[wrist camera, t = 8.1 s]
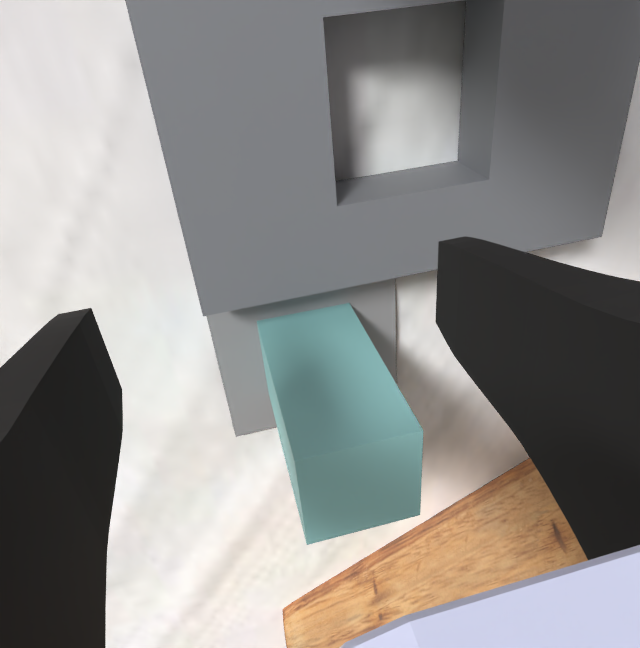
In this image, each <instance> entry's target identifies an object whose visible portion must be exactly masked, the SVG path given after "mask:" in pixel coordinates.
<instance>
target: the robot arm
mask: <svg viewBox="0 0 640 648" xmlns="http://www.w3.org/2000/svg"><path fill="white" fill-rule="evenodd" d="M436 323H437V325H438V327H439V329H440V331H441V333H442V335H443V336H444V338H445V340H446V342H447V344H448V346H449V347H450V349H451V351H452V352H453V354H454V356H455V357H456V359H457V360H458V361H459V363H460V364H461V365H462V367H463V368H464V369H465V371H466V372H467V373H468V375H469V376H470V377H471V378H472V380H473V381H474V382H475V384H476V385H477V386H478V387H479V389H480V390H481V391H482V393H483V394H484V395H485V396H486V398H487V399H488V400H489V402H490V403H491V404H492V405H493V407H494V408H495V409H496V410H497V412H498V413H499V414H500V416H501V417H502V418H503V419H504V421H505V422H506V423H507V425H508V426H509V427H510V428H511V430H512V431H513V433H514V434H515V435H516V437H517V438H518V440H519V441H520V442H521V444H522V445H523V447H524V449H525V450H526V452H527V453H528V455H529V457H530V458H531V460H532V462H533V463H534V465H535V467H536V468H537V470H538V471H539V473H540V475H541V476H542V478H543V480H544V481H545V483H546V485H547V486H548V488H549V490H550V492H551V493H552V495H553V497H554V499H555V500H556V502H557V504H558V506H559V507H560V509H561V511H562V513H563V514H564V516H565V518H566V520H567V521H568V523H569V525H570V527H571V529H572V531H573V533H574V534H575V536H576V538H577V540H578V542H579V544H580V546H581V548H582V550H583V551H584V553H585V555H586V557H587V559H588V561H584V562H581V563H578V564H574V565H571V566H568V567H565V568H561V569H558V570H555V571H551V572H548V573H545V574H541V575H538V576H535V577H531V578H528V579H525V580H521V581H518V582H515V583H511V584H508V585H505V586H501V587H498V588H495V589H491V590H488V591H485V592H481V593H478V594H475V595H471V596H468V597H465V598H461V599H458V600H455V601H451V602H448V603H445V604H442V605H438V606H435V607H432V608H428V609H425V610H422V611H418V612H415V613H412V614H408V615H405V616H403V617H400V618H398V619H396V620H394V621H391V622H389V623H387V624H385V625H383V626H380V627H378V628H376V629H374V630H372V631H369V632H367V633H365V634H363V635H361V636H358V637H356V638H354V639H352V640H350V641H347V642H345V643H344V644H343V645H342V646H341V647H340V648H640V282H639V281H634V280H629V279H623V278H619V277H614V276H609V275H605V274H601V273H597V272H593V271H589V270H585V269H581V268H577V267H574V266H570V265H566V264H563V263H559V262H556V261H552V260H549V259H546V258H542V257H539V256H536V255H533V254H529V253H526V252H523V251H520V250H516V249H513V248H510V247H507V246H503V245H500V244H497V243H493V242H489V241H486V240H482V239H478V238H473V237H466V236H464V237H459V238H454V239H449V240H444V241H439V243H438V271H437V300H436ZM122 432H123V411H122V388H121V386H120V383H119V380H118V378H117V375H116V372H115V370H114V367H113V364H112V362H111V359H110V356H109V354H108V351H107V349H106V346H105V343H104V341H103V338H102V335H101V333H100V330H99V327H98V325H97V322H96V320H95V317H94V314H93V312H92V309H91V308H89V309H83V310H78V311H73V312H68V313H62V314H58V315H57V316H56V317H54V318H53V319H52V320H50V321H49V322H48V323H47V324H46V325H45V326H44V327H43V328H42V329H40V330H39V331H38V332H37V333H36V334H35V335H34V336H33V337H32V338H31V339H30V340H29V341H28V342H27V343H26V344H25V345H24V346H23V347H22V348H21V349H20V350H19V351H17V352H16V353H15V354H14V355H13V356H12V357H11V358H10V359H9V360H8V361H7V362H6V363H5V364H4V365H3V366H2V367H1V368H0V648H105V602H106V563H107V545H108V534H109V526H110V519H111V512H112V505H113V498H114V491H115V484H116V477H117V470H118V463H119V455H120V448H121V440H122Z"/></svg>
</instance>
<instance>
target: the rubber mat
mask: <svg viewBox="0 0 640 648" xmlns="http://www.w3.org/2000/svg"><path fill="white" fill-rule="evenodd" d="M346 303H350V305H351V307H352V309H353V310H354V312H355V314H356V315H357V317H358V319H359V321H360V322H361V324H362V326H363V327H364V329H365V331H366V333H367V334H368V336H369V338H370V340H371V341H372V343H373V345H374V346H375V348H376V350H377V352H378V353H379V355H380V357H381V358H382V360H383V362H384V364H385V365H386V367H387V369H388V371H389V372H390V374H391V376H392V377H393V379H394V381H395V383H396V384H397V377H396V304H395V278H393V279H388V280H383V281H378V282H373V283H368V284H363V285H358V286H353V287H348V288H343V289H338V290H333V291H328V292H323V293H318V294H313V295H308V296H303V297H298V298H293V299H288V300H283V301H278V302H273V303H268V304H263V305H258V306H253V307H248V308H243V309H238V310H233V311H228V312H223V313H218V314H213V315H208V316H207V319H208V324H209V328H210V332H211V336H212V340H213V344H214V348H215V352H216V357H217V361H218V365H219V369H220V373H221V377H222V381H223V385H224V390H225V394H226V398H227V402H228V406H229V410H230V414H231V418H232V423H233V427H234V431H235V435H236V437H237V436H241V435H245V434H249V433H254V432H258V431H262V430H266V429H271V428H275V427H277V424H276V421H275V417H274V413H273V409H272V405H271V401H270V397H269V392H268V386H267V380H266V374H265V368H264V362H263V356H262V350H261V345H260V339H259V333H258V327H257V321H258V320H264V319H269V318H274V317H279V316H284V315H289V314H295V313H300V312H305V311H310V310H315V309H320V308H326V307H331V306H336V305H341V304H346Z"/></svg>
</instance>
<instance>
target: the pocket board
mask: <svg viewBox="0 0 640 648" xmlns="http://www.w3.org/2000/svg"><path fill="white" fill-rule="evenodd" d="M125 1H126V5H127V9H128V13H129V17H130V21H131V25H132V30H133V34H134V38H135V42H136V46H137V50H138V54H139V58H140V62H141V66H142V70H143V74H144V78H145V82H146V86H147V90H148V94H149V98H150V103H151V107H152V111H153V115H154V119H155V123H156V127H157V131H158V135H159V139H160V143H161V147H162V151H163V155H164V159H165V163H166V167H167V171H168V175H169V180H170V184H171V188H172V192H173V196H174V200H175V204H176V208H177V212H178V216H179V220H180V224H181V228H182V232H183V236H184V240H185V244H186V248H187V252H188V257H189V261H190V265H191V269H192V273H193V277H194V281H195V285H196V289H197V293H198V297H199V301H200V305H201V309H202V313H203V316H208V315H213V314H218V313H223V312H228V311H233V310H238V309H243V308H248V307H253V306H258V305H263V304H268V303H273V302H278V301H283V300H288V299H293V298H298V297H303V296H308V295H313V294H318V293H323V292H328V291H333V290H338V289H343V288H348V287H353V286H358V285H363V284H368V283H373V282H378V281H383V280H388V279H393V278H398V277H403V276H408V275H413V274H418V273H423V272H428V271H433V270H438V243H439V241H444V240H449V239H454V238H459V237H464V236H466V237H473V238H478V239H482V240H486V241H489V242H493V243H497V244H500V245H503V246H507V247H510V248H513V249H516V250H520V251H523V252H528V251H533V250H538V249H543V248H548V247H553V246H558V245H563V244H568V243H573V242H578V241H583V240H588V239H593V238H598V237H602V232H603V228H604V223H605V219H606V214H607V209H608V205H609V200H610V195H611V191H612V186H613V181H614V177H615V172H616V167H617V163H618V158H619V153H620V149H621V144H622V139H623V135H624V130H625V126H626V121H627V116H628V112H629V107H630V102H631V98H632V93H633V88H634V84H635V79H636V74H637V70H638V65H639V60H640V0H466V10H465V29H464V48H463V68H462V87H461V106H460V126H459V145H458V161H454V162H448V163H442V164H436V165H430V166H424V167H419V168H413V169H407V170H401V171H395V172H389V173H383V174H377V175H371V176H365V177H359V178H353V179H347V180H341V181H335V171H334V157H333V144H332V130H331V117H330V104H329V90H328V77H327V63H326V50H325V37H324V23H323V17H330V16H339V15H347V14H355V13H364V12H372V11H380V10H389V9H397V8H405V7H414V6H422V5H430V4H439V3H447V2H455V1H464V0H125Z"/></svg>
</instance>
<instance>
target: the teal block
mask: <svg viewBox="0 0 640 648" xmlns="http://www.w3.org/2000/svg"><path fill="white" fill-rule="evenodd" d="M257 327H258V333H259V339H260V345H261V350H262V356H263V362H264V368H265V374H266V380H267V386H268V392H269V397H270V401H271V405H272V409H273V413H274V417H275V421H276V424H277V428H278V432H279V436H280V440H281V444H282V448H283V452H284V456H285V460H286V464H287V468H288V472H289V476H290V480H291V484H292V488H293V492H294V496H295V499H296V503H297V507H298V511H299V515H300V519H301V523H302V527H303V531H304V535H305V539H306V543H307V545H308V544H312V543H316V542H319V541H323V540H327V539H331V538H335V537H338V536H342V535H346V534H350V533H354V532H357V531H361V530H365V529H369V528H372V527H376V526H380V525H384V524H388V523H391V522H395V521H399V520H403V519H407V518H410V517H414V516H418V515H420V503H421V477H422V451H423V429H422V427H421V426H420V424H419V422H418V420H417V419H416V417H415V415H414V414H413V412H412V410H411V408H410V407H409V405H408V403H407V402H406V400H405V398H404V396H403V395H402V393H401V391H400V389H399V388H398V386H397V384H396V383H395V381H394V379H393V377H392V376H391V374H390V372H389V371H388V369H387V367H386V365H385V364H384V362H383V360H382V358H381V357H380V355H379V353H378V352H377V350H376V348H375V346H374V345H373V343H372V341H371V340H370V338H369V336H368V334H367V333H366V331H365V329H364V327H363V326H362V324H361V322H360V321H359V319H358V317H357V315H356V314H355V312H354V310H353V309H352V307H351V305H350V303H346V304H341V305H336V306H331V307H326V308H320V309H315V310H310V311H305V312H300V313H295V314H289V315H284V316H279V317H274V318H269V319H264V320H258V321H257Z"/></svg>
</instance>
